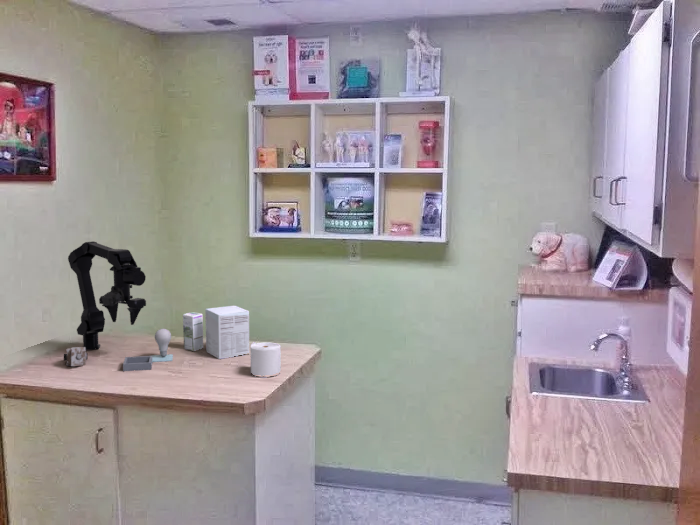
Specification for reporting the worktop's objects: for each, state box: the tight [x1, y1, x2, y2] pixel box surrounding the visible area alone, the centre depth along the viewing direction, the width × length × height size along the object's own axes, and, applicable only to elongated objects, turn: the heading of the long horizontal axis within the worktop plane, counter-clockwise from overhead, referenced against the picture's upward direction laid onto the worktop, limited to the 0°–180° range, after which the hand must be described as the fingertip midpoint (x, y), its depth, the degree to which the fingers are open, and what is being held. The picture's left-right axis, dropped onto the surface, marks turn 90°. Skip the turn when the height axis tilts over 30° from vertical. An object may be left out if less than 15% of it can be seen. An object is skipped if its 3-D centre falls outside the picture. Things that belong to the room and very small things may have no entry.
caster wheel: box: [63, 346, 88, 367], centre depth 250 cm, size 7×11×10 cm
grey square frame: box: [122, 355, 153, 372], centre depth 247 cm, size 10×10×2 cm
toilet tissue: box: [249, 341, 282, 376], centre depth 240 cm, size 11×12×10 cm
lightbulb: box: [154, 328, 172, 357], centre depth 258 cm, size 6×6×11 cm
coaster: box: [150, 353, 174, 363], centre depth 257 cm, size 8×8×1 cm
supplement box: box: [205, 305, 250, 360], centre depth 265 cm, size 13×13×18 cm
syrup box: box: [182, 311, 204, 352], centre depth 271 cm, size 6×6×14 cm
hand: (123, 323), depth 258 cm, fingers open, 9 cm apart
